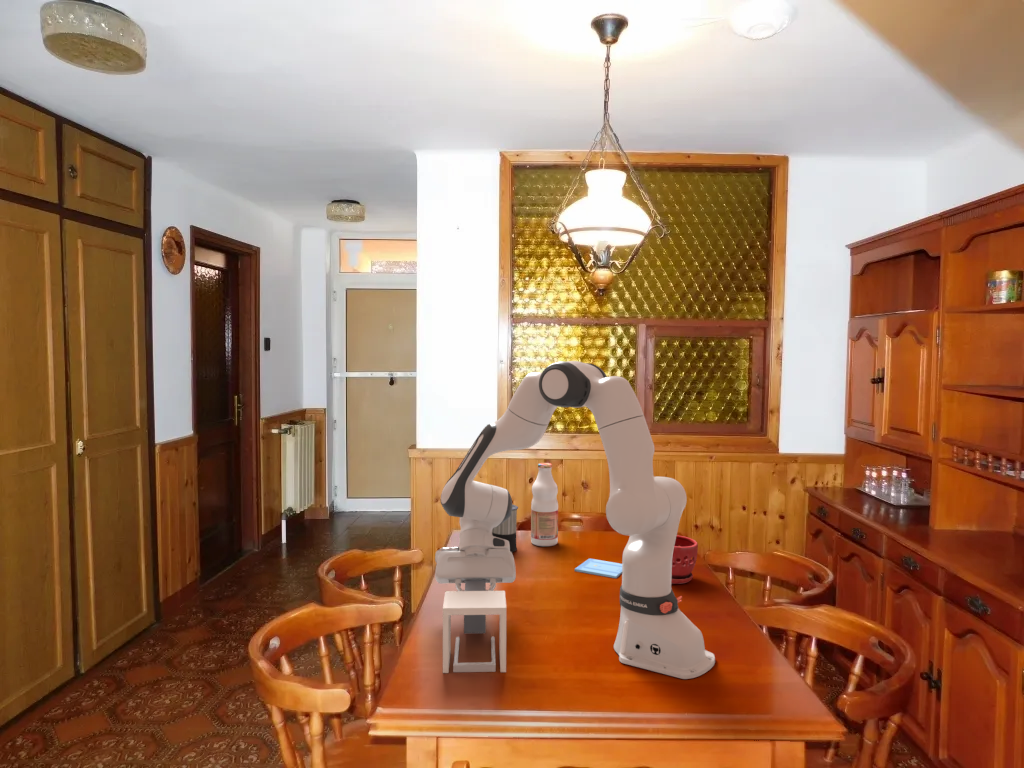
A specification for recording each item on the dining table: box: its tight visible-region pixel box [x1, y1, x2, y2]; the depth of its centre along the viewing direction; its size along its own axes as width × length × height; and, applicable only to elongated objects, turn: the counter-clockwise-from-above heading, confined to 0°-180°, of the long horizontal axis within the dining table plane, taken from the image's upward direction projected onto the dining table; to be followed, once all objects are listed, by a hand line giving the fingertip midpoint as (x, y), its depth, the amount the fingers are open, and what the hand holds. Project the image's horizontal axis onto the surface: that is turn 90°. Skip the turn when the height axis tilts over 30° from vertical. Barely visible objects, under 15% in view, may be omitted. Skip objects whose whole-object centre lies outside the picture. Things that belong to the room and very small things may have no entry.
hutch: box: [442, 590, 507, 674], centre depth 153 cm, size 16×13×14 cm
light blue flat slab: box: [574, 557, 622, 579], centre depth 213 cm, size 14×12×1 cm
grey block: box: [463, 580, 487, 634], centre depth 164 cm, size 13×5×8 cm, turn 2°
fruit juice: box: [530, 462, 559, 547], centre depth 240 cm, size 9×9×28 cm
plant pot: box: [671, 534, 699, 585], centre depth 204 cm, size 13×13×12 cm
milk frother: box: [492, 504, 519, 553], centre depth 229 cm, size 14×16×15 cm
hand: (475, 598), depth 168 cm, fingers closed on grey block, 5 cm apart
